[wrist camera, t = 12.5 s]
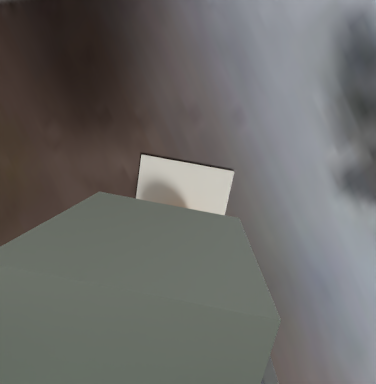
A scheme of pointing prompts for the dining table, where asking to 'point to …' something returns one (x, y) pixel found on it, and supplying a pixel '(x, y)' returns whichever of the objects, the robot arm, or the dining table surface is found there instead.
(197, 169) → the mark
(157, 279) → the pale green rectangular prism
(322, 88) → the dining table surface
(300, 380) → the dining table surface
